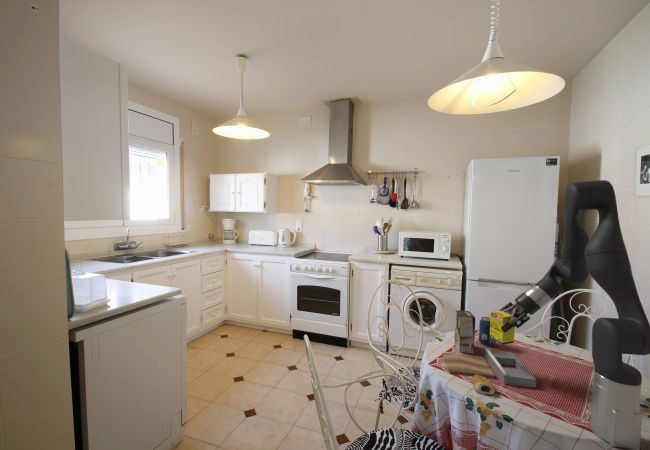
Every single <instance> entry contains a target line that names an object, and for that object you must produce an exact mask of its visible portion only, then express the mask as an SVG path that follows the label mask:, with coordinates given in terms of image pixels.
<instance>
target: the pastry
mask: <svg viewBox="0 0 650 450" xmlns="http://www.w3.org/2000/svg"><path fill="white" fill-rule="evenodd" d="M471 383H472V384H471V385H473V390H474V391H475V392H476V393H478V394H483V395H493V394H494V393H495V392H496V388H495V386H494V385H493V383H492V382H491V380H489V379H488V377H484V376H481V375H478V374H476V375H474V376H472V378H471Z"/></svg>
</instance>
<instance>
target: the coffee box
mask: <svg viewBox="0 0 650 450" xmlns="http://www.w3.org/2000/svg"><path fill="white" fill-rule="evenodd" d="M475 333H476V317H475V315H474V314H473V313H472V312H471V311H470V310H458V309H456V310H455V316H454V345H455V347H456V349H457V350H458V352H459V353H466V354H474V353H475V335H476V334H475Z"/></svg>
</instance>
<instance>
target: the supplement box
mask: <svg viewBox="0 0 650 450" xmlns="http://www.w3.org/2000/svg"><path fill="white" fill-rule="evenodd" d="M510 316H511V315H510V314H509V313H506V312H504V310H503V311H499V310H497V311H495V310H494V311H490V318H491V321H490V338H491V339H493V340H495V341H496V343H498V344H500V345H508V344H514V342H515V328H516V327H512V328H511V329H510V330H508V331H507V332H506V333H505V332H503V331H502V330H501V327H502V326H503V325H504V324H506V323H507V322H509V320H510Z"/></svg>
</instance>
